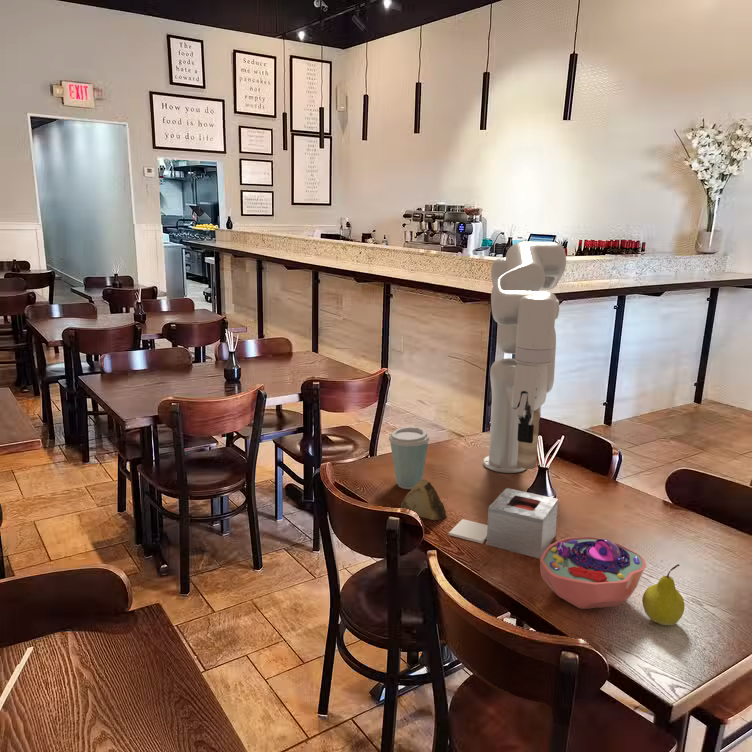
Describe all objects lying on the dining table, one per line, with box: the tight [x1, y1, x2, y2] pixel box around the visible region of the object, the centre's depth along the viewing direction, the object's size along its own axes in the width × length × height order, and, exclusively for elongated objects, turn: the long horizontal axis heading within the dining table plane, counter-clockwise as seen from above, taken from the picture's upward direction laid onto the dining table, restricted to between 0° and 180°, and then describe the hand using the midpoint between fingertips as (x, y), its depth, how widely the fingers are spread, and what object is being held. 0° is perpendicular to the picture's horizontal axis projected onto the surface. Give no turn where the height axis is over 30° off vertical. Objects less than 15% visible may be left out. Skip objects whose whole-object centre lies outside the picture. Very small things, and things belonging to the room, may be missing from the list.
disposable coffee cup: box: [388, 426, 430, 490], centre depth 175 cm, size 11×11×15 cm
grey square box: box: [486, 487, 559, 560], centre depth 146 cm, size 12×12×9 cm
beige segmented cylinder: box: [517, 407, 540, 470], centre depth 141 cm, size 4×4×16 cm
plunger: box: [513, 505, 534, 511], centre depth 146 cm, size 5×5×3 cm
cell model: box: [539, 536, 647, 610], centre depth 124 cm, size 17×20×11 cm
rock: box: [400, 479, 448, 521], centre depth 160 cm, size 11×9×10 cm
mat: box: [448, 518, 488, 545], centre depth 151 cm, size 8×8×1 cm
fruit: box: [641, 563, 685, 626], centre depth 117 cm, size 7×7×12 cm
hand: (528, 437), depth 141 cm, fingers closed on beige segmented cylinder, 4 cm apart
